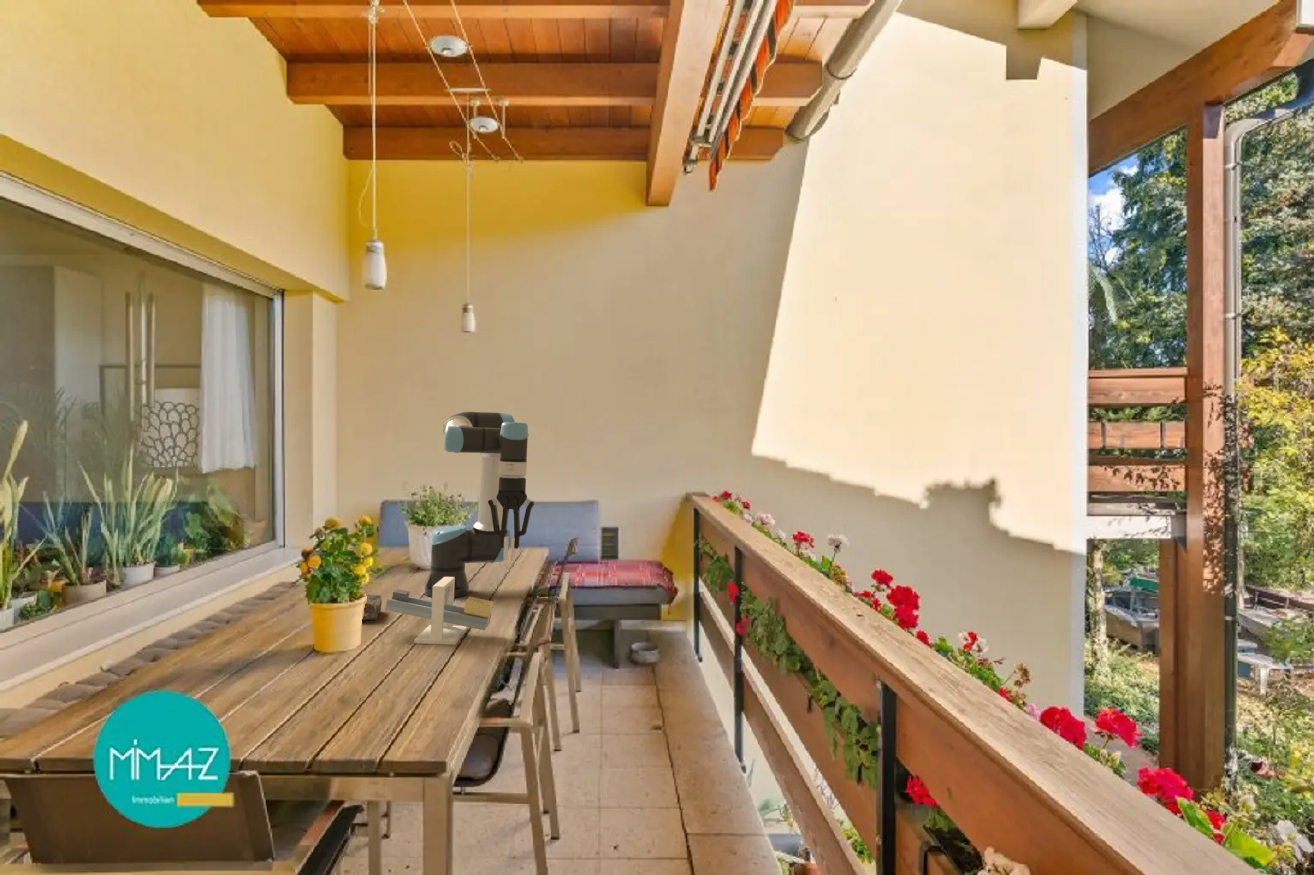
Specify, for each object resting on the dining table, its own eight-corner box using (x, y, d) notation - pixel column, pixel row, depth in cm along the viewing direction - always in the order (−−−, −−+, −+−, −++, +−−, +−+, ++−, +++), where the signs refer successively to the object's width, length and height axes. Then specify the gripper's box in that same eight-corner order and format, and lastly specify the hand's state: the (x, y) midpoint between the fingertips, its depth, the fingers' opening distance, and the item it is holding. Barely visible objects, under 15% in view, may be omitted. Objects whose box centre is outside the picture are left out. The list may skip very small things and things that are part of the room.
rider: (465, 615, 196) (469, 596, 196) (489, 620, 196) (493, 601, 196) (462, 619, 192) (466, 599, 192) (486, 624, 192) (490, 605, 192)
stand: (429, 628, 201) (431, 575, 200) (467, 629, 201) (469, 576, 201) (414, 643, 187) (416, 586, 186) (455, 644, 187) (457, 588, 187)
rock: (347, 610, 216) (330, 625, 201) (347, 590, 216) (330, 603, 201) (389, 609, 218) (375, 624, 203) (389, 589, 217) (375, 603, 203)
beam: (394, 602, 197) (400, 576, 197) (490, 622, 199) (495, 596, 198) (383, 610, 189) (389, 582, 189) (483, 631, 190) (489, 603, 190)
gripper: (484, 476, 190) (480, 561, 190) (536, 478, 190) (532, 563, 191) (489, 474, 197) (486, 556, 198) (539, 476, 198) (536, 557, 198)
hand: (509, 559), depth 194 cm, fingers closed
